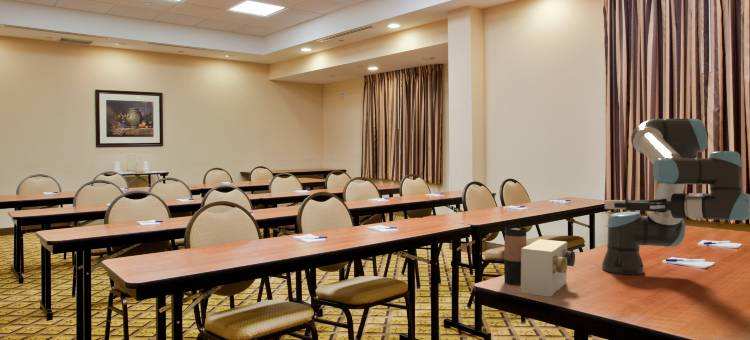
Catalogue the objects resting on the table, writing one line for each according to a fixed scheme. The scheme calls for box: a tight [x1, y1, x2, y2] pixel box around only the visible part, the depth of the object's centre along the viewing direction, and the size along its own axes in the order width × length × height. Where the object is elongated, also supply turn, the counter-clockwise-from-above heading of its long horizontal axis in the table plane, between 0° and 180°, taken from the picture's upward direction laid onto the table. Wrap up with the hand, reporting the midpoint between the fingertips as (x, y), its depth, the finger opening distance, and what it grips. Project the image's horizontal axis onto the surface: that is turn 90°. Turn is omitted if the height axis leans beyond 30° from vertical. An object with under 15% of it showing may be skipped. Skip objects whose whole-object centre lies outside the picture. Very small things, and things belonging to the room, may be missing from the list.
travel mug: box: [503, 226, 527, 286], centre depth 192 cm, size 8×8×20 cm
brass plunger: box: [553, 257, 568, 274], centre depth 180 cm, size 13×5×5 cm, turn 58°
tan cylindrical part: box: [562, 250, 576, 267], centre depth 190 cm, size 13×5×5 cm, turn 58°
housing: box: [520, 238, 568, 298], centre depth 186 cm, size 10×22×15 cm, turn 148°
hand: (605, 204), depth 174 cm, fingers closed
